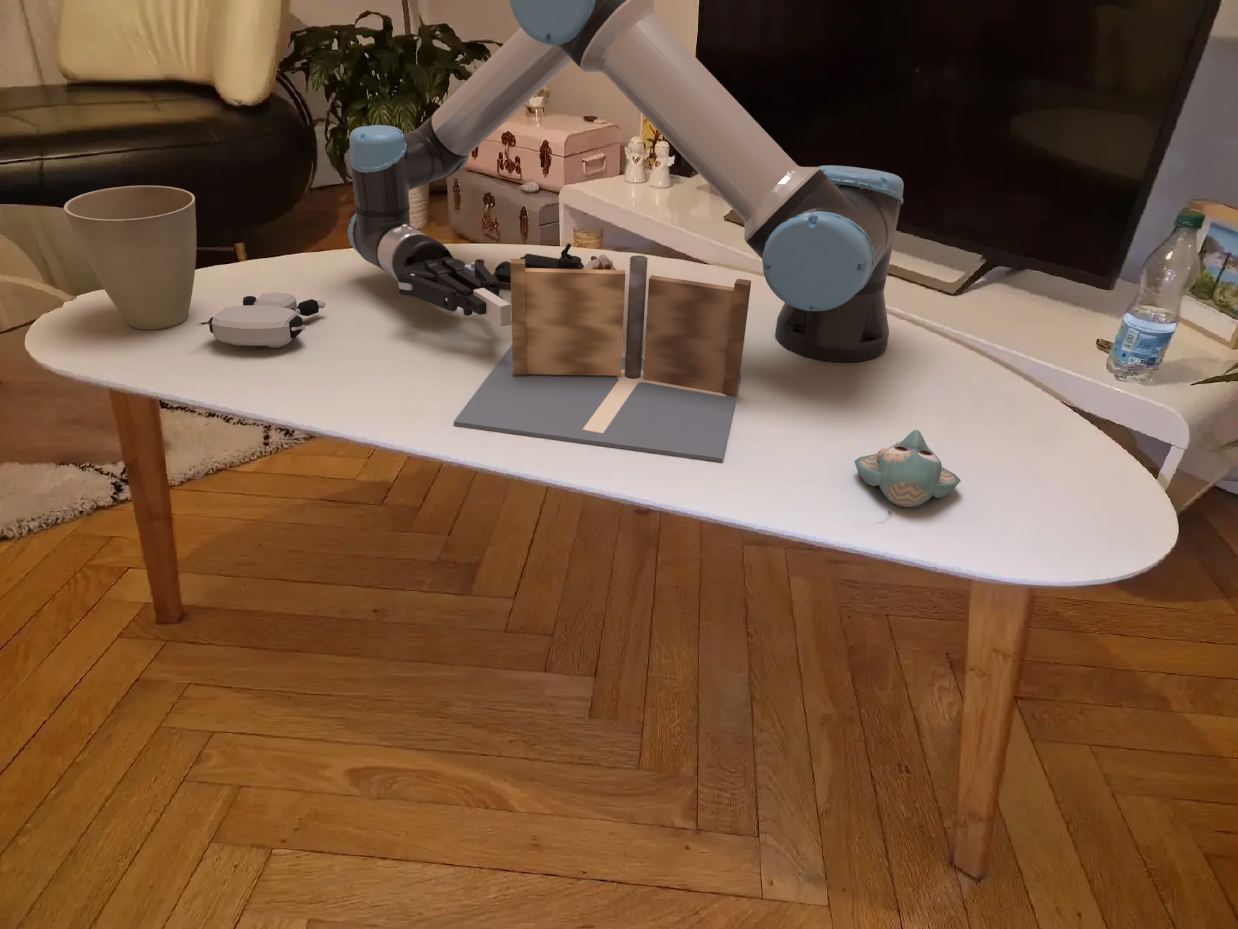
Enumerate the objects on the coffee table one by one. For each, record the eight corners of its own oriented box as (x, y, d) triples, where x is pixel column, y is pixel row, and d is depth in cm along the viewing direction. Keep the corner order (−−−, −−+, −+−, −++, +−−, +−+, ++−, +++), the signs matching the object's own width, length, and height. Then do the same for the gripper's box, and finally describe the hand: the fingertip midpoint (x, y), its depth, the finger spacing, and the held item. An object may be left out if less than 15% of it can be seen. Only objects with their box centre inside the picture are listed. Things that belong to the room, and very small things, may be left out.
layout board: (740, 375, 118) (741, 371, 117) (722, 462, 99) (722, 457, 99) (512, 347, 122) (512, 343, 122) (453, 425, 104) (453, 420, 103)
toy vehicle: (573, 312, 136) (576, 254, 131) (476, 295, 138) (476, 237, 134) (588, 293, 142) (592, 237, 138) (496, 277, 145) (496, 222, 140)
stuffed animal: (968, 420, 98) (976, 455, 87) (953, 483, 101) (959, 524, 90) (864, 403, 101) (860, 435, 90) (852, 464, 103) (846, 503, 92)
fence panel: (620, 370, 115) (625, 261, 108) (620, 376, 114) (625, 266, 107) (513, 368, 115) (511, 258, 107) (512, 374, 113) (510, 263, 106)
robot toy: (245, 317, 130) (197, 354, 116) (240, 285, 127) (191, 319, 114) (333, 322, 129) (295, 359, 116) (329, 290, 127) (291, 324, 114)
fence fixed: (622, 381, 115) (628, 259, 107) (627, 374, 116) (633, 254, 108) (734, 401, 111) (749, 277, 103) (737, 394, 113) (752, 271, 105)
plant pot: (75, 319, 124) (42, 199, 116) (182, 291, 134) (158, 179, 126) (129, 352, 116) (97, 226, 108) (238, 320, 126) (217, 202, 118)
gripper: (369, 241, 123) (456, 296, 108) (456, 226, 130) (550, 276, 115) (374, 294, 127) (459, 356, 112) (459, 277, 134) (550, 333, 119)
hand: (505, 315), depth 113 cm, fingers closed
